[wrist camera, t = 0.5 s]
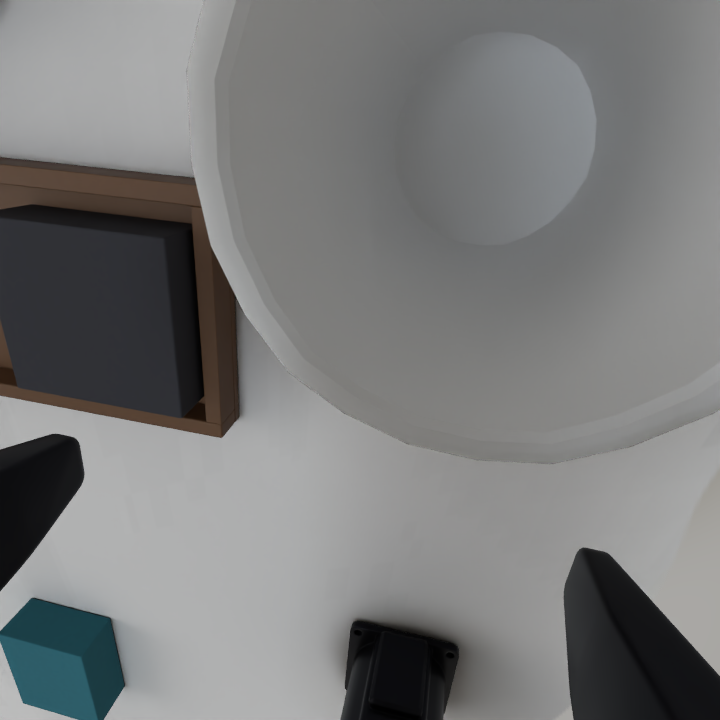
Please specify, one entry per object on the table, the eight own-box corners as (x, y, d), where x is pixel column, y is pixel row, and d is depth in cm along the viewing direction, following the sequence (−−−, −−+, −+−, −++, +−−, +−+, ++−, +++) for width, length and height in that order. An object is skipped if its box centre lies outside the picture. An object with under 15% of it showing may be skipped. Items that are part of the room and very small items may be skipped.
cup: (469, 324, 21) (463, 550, 10) (306, 144, 19) (70, 164, 8) (700, 147, 17) (1166, 182, 5) (517, -103, 15) (642, -792, 4)
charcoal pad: (213, 388, 25) (181, 419, 22) (64, 361, 26) (17, 388, 23) (203, 224, 21) (164, 238, 18) (31, 203, 22) (-29, 213, 20)
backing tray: (239, 417, 26) (222, 438, 24) (-78, 359, 29) (-115, 374, 27) (230, 181, 21) (207, 186, 19) (-154, 140, 24) (-205, 141, 22)
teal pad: (125, 685, 39) (99, 726, 36) (52, 665, 40) (22, 703, 37) (110, 618, 36) (81, 657, 33) (31, 597, 37) (-4, 634, 34)
